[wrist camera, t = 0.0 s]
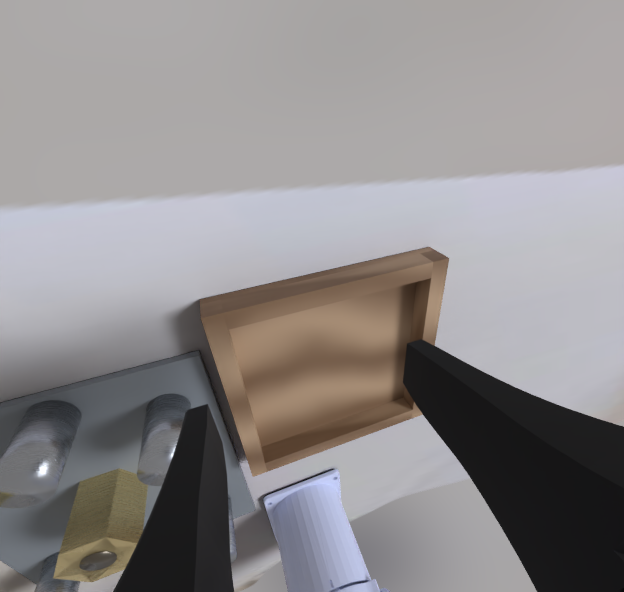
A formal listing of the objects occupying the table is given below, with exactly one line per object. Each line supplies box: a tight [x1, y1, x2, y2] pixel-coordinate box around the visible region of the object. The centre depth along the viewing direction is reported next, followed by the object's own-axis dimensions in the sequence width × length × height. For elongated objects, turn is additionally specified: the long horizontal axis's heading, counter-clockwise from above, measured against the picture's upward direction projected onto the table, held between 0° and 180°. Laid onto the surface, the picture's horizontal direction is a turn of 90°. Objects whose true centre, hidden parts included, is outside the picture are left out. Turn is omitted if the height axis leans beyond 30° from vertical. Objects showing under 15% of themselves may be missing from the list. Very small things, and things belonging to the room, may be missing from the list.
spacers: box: [0, 393, 237, 592], centre depth 22 cm, size 20×15×4 cm
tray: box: [200, 247, 449, 477], centre depth 24 cm, size 16×16×2 cm
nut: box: [53, 468, 148, 582], centre depth 22 cm, size 4×5×5 cm
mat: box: [0, 351, 255, 584], centre depth 24 cm, size 21×18×1 cm
